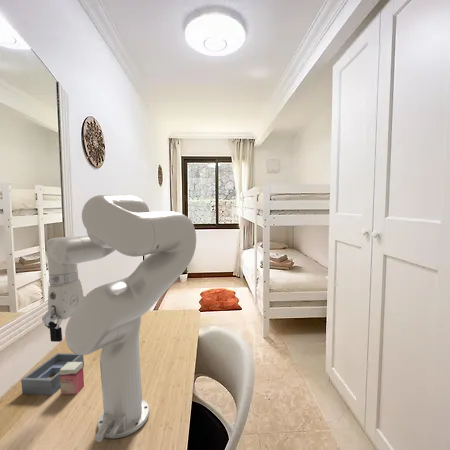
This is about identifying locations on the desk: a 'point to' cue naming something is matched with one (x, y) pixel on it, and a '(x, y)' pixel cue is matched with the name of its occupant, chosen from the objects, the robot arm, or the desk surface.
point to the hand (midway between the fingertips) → (68, 333)
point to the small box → (71, 377)
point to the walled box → (39, 377)
